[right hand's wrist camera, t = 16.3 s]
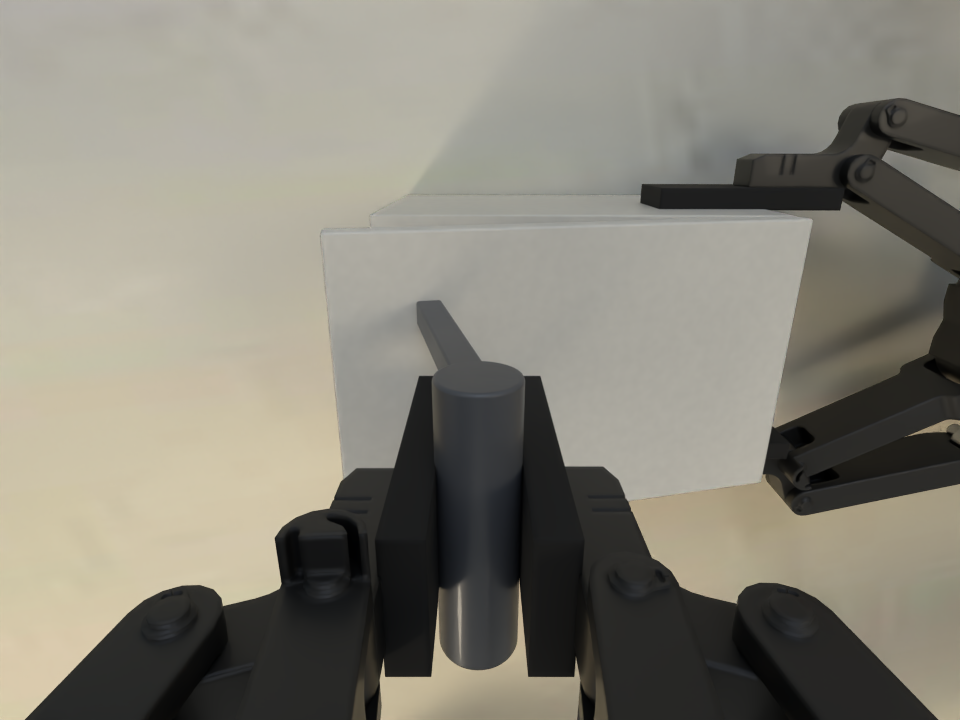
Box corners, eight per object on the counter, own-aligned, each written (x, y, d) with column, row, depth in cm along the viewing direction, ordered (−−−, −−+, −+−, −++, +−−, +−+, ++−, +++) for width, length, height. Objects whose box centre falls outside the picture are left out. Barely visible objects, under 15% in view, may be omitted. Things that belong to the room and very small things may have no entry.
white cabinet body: (414, 376, 31) (385, 468, 22) (407, 194, 27) (369, 214, 18) (671, 377, 31) (748, 470, 22) (694, 194, 27) (796, 215, 18)
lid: (348, 525, 18) (354, 763, 11) (320, 228, 15) (302, 296, 8) (746, 471, 22) (948, 630, 14) (794, 215, 18) (1088, 256, 11)
